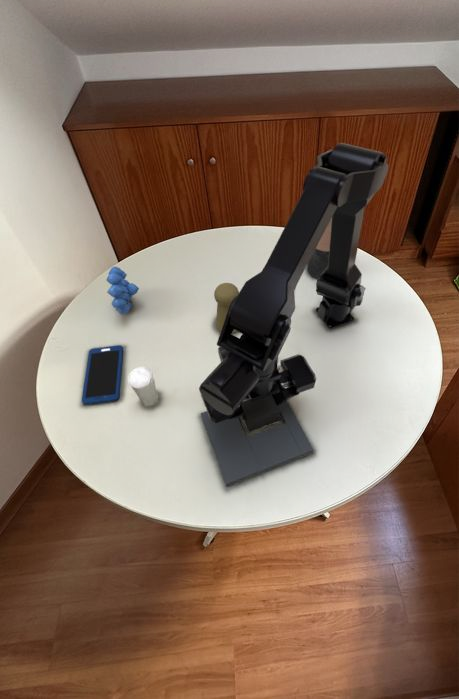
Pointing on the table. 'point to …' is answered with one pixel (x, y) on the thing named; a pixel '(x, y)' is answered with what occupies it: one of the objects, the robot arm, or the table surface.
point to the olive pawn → (224, 302)
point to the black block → (260, 413)
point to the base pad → (256, 446)
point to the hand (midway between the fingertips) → (258, 411)
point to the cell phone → (103, 375)
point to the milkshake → (144, 385)
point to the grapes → (121, 290)
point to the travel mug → (320, 254)
